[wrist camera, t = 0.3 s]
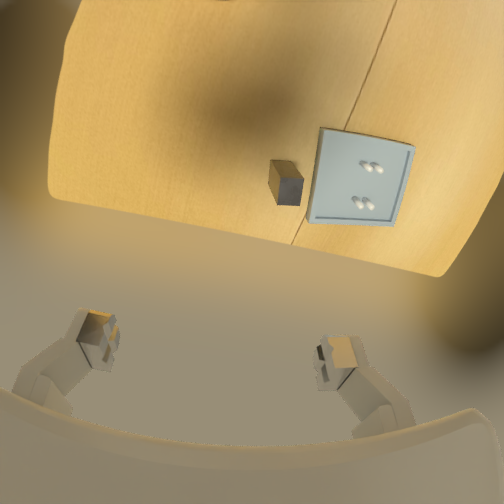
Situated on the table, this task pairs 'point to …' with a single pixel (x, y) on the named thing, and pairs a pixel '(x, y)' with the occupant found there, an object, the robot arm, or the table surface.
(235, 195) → the table surface
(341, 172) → the tray
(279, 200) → the drive
